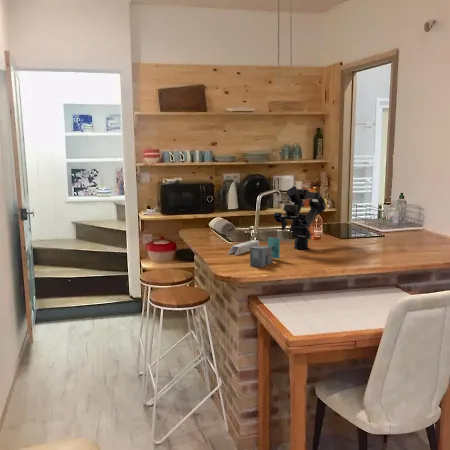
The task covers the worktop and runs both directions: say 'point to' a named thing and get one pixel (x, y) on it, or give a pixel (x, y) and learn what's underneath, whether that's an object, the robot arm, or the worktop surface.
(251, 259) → the socket
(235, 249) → the box
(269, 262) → the sleeve
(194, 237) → the worktop surface
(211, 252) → the worktop surface
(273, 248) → the teal green slab
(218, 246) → the worktop surface
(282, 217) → the robot arm
